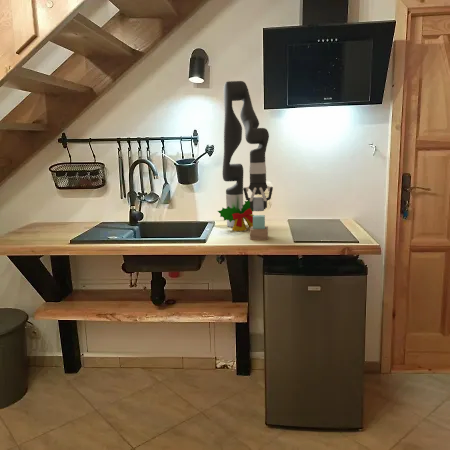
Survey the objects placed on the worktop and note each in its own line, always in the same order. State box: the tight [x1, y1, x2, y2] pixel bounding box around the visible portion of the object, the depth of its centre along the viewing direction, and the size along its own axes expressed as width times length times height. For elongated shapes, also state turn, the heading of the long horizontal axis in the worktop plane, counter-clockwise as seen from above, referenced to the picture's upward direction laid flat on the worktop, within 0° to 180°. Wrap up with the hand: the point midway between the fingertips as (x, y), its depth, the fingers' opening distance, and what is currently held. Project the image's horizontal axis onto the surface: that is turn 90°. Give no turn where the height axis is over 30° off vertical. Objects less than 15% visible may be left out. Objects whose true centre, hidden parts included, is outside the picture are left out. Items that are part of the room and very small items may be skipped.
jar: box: [253, 196, 265, 212], centre depth 206 cm, size 5×5×6 cm
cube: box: [253, 214, 266, 229], centre depth 209 cm, size 6×6×6 cm
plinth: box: [249, 225, 269, 241], centre depth 209 cm, size 8×8×5 cm
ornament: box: [217, 200, 254, 232], centre depth 228 cm, size 21×8×15 cm, turn 96°
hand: (258, 209), depth 207 cm, fingers closed on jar, 5 cm apart
